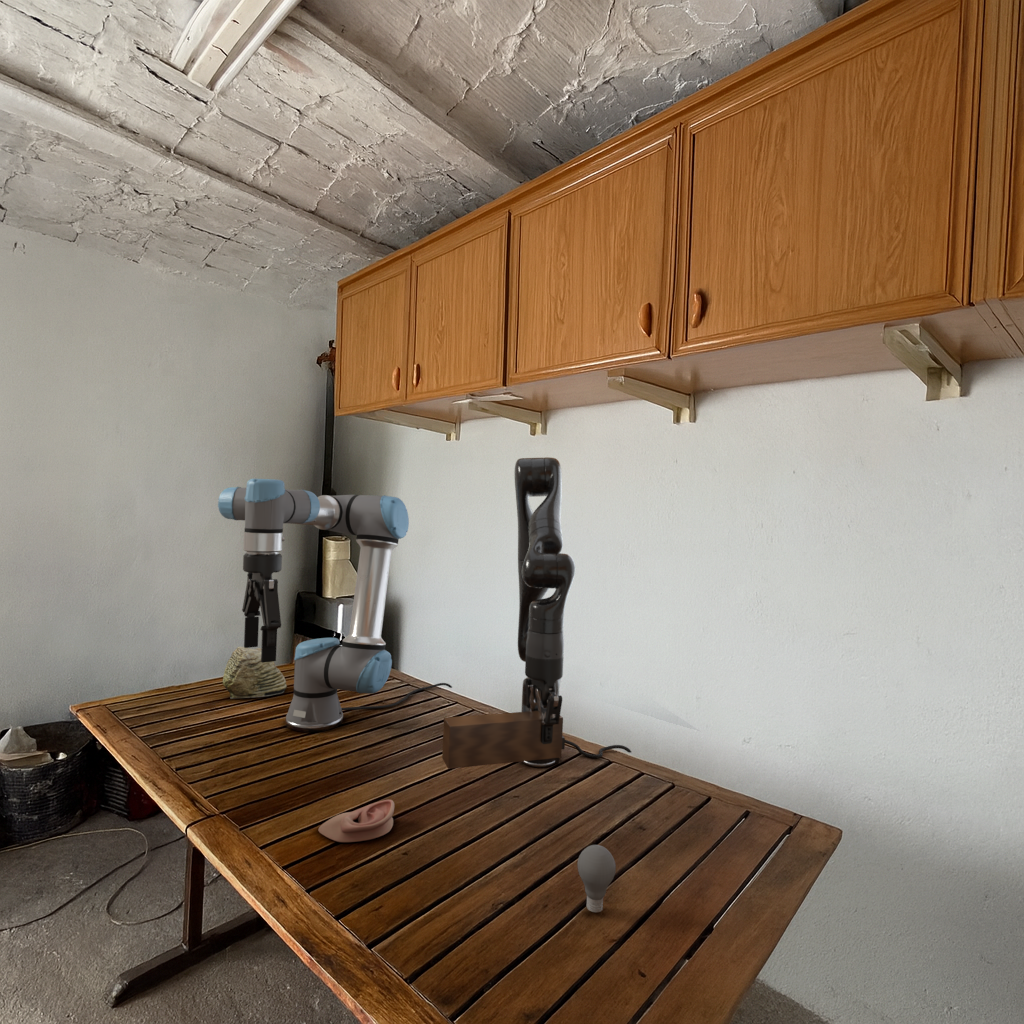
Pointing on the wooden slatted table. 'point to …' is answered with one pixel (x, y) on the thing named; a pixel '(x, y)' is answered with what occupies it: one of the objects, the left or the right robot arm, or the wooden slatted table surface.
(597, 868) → the light bulb
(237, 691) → the fossil
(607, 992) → the wooden slatted table surface
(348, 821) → the anatomical model
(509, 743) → the bar
